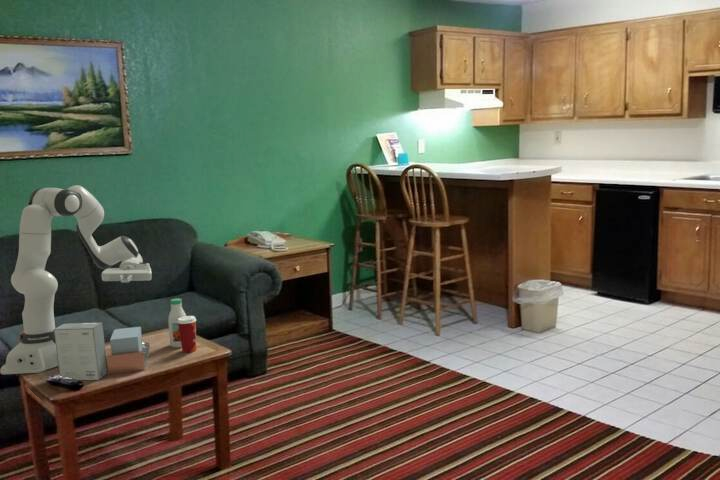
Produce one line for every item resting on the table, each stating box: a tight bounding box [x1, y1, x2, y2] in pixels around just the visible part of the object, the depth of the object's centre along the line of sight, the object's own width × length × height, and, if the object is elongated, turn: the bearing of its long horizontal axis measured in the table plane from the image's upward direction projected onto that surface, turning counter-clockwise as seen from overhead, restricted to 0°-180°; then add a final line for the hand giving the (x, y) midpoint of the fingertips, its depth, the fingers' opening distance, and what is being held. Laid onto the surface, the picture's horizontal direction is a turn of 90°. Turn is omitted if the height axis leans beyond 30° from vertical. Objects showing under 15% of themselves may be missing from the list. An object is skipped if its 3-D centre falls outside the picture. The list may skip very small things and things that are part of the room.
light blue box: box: [109, 326, 143, 354], centre depth 256 cm, size 10×14×9 cm
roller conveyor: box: [106, 341, 150, 375], centre depth 261 cm, size 13×28×7 cm, turn 14°
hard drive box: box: [54, 322, 108, 381], centre depth 243 cm, size 16×8×20 cm, turn 84°
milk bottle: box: [167, 297, 187, 348], centre depth 276 cm, size 8×8×20 cm
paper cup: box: [177, 315, 197, 354], centre depth 268 cm, size 8×8×14 cm
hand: (124, 280), depth 273 cm, fingers closed
